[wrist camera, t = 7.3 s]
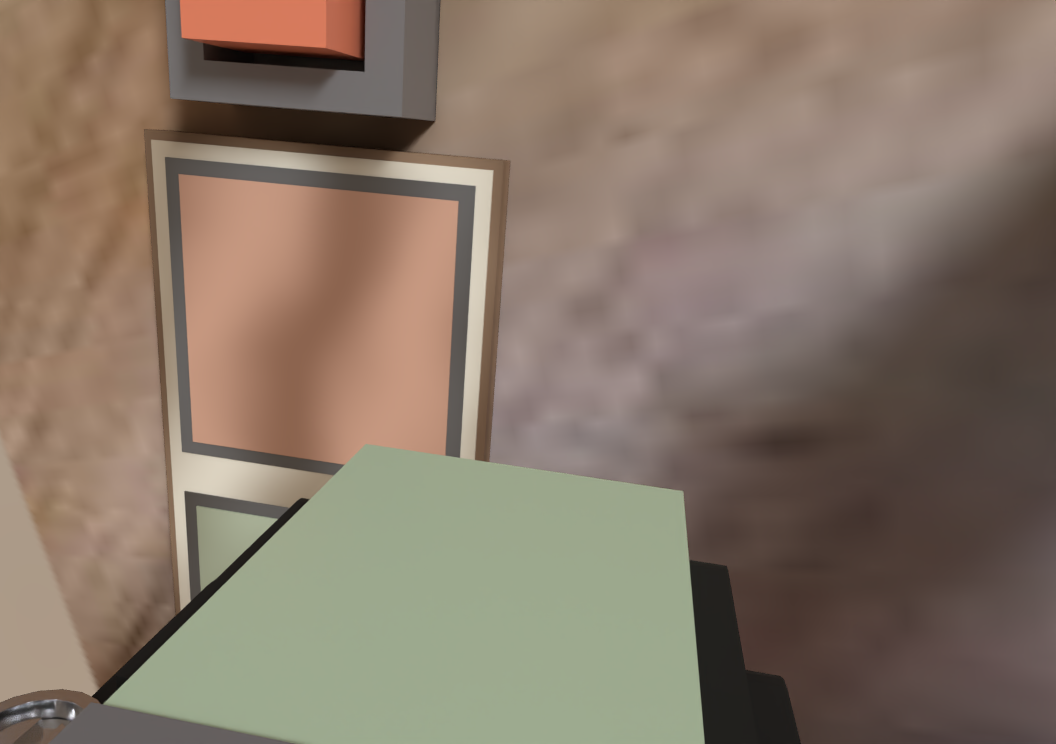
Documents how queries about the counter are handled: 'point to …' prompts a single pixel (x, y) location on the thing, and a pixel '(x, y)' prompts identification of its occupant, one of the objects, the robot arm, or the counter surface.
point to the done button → (279, 26)
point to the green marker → (436, 619)
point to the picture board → (313, 322)
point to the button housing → (321, 68)
